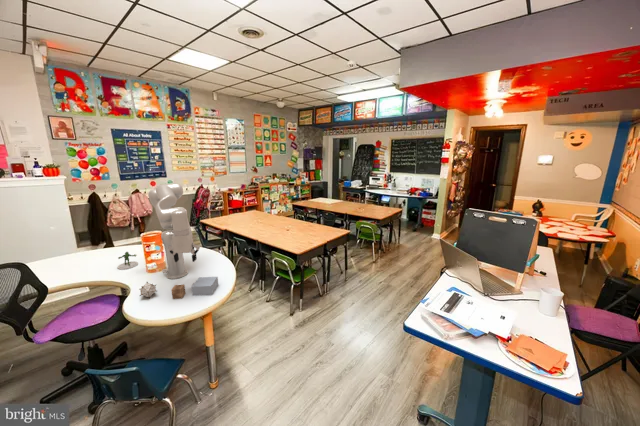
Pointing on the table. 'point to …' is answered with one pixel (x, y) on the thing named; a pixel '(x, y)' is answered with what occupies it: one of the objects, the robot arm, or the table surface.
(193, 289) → the slate base
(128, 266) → the monster figurine
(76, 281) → the table surface
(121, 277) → the table surface
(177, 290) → the copper block
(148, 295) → the game die
